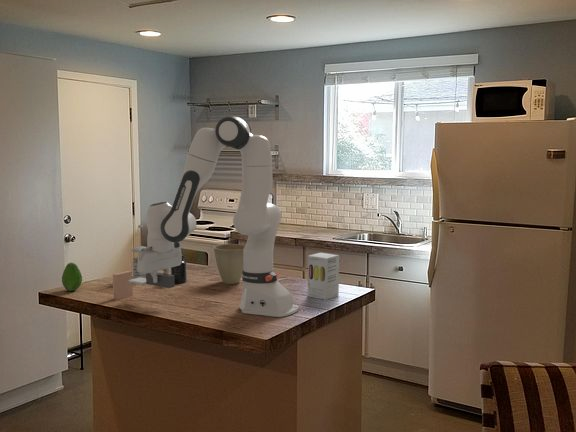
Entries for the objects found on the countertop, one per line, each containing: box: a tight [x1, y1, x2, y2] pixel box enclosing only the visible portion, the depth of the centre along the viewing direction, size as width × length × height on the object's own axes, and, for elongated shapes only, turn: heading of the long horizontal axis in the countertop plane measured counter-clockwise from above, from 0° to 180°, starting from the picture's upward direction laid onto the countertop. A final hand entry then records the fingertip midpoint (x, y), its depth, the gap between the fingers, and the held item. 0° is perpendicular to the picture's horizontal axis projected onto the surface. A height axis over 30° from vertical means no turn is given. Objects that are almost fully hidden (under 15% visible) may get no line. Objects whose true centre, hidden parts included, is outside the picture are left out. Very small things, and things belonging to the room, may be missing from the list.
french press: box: [131, 224, 147, 279], centre depth 265 cm, size 10×12×25 cm
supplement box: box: [307, 252, 340, 301], centre depth 238 cm, size 10×9×17 cm
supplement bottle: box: [170, 254, 188, 284], centre depth 262 cm, size 7×7×12 cm
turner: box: [128, 271, 176, 289], centre depth 226 cm, size 20×6×4 cm, turn 57°
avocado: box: [61, 262, 83, 292], centre depth 246 cm, size 8×8×12 cm
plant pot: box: [213, 243, 246, 285], centre depth 262 cm, size 15×15×16 cm
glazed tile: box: [112, 270, 134, 301], centre depth 236 cm, size 2×8×10 cm, turn 147°
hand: (160, 281), depth 224 cm, fingers closed on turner, 3 cm apart
